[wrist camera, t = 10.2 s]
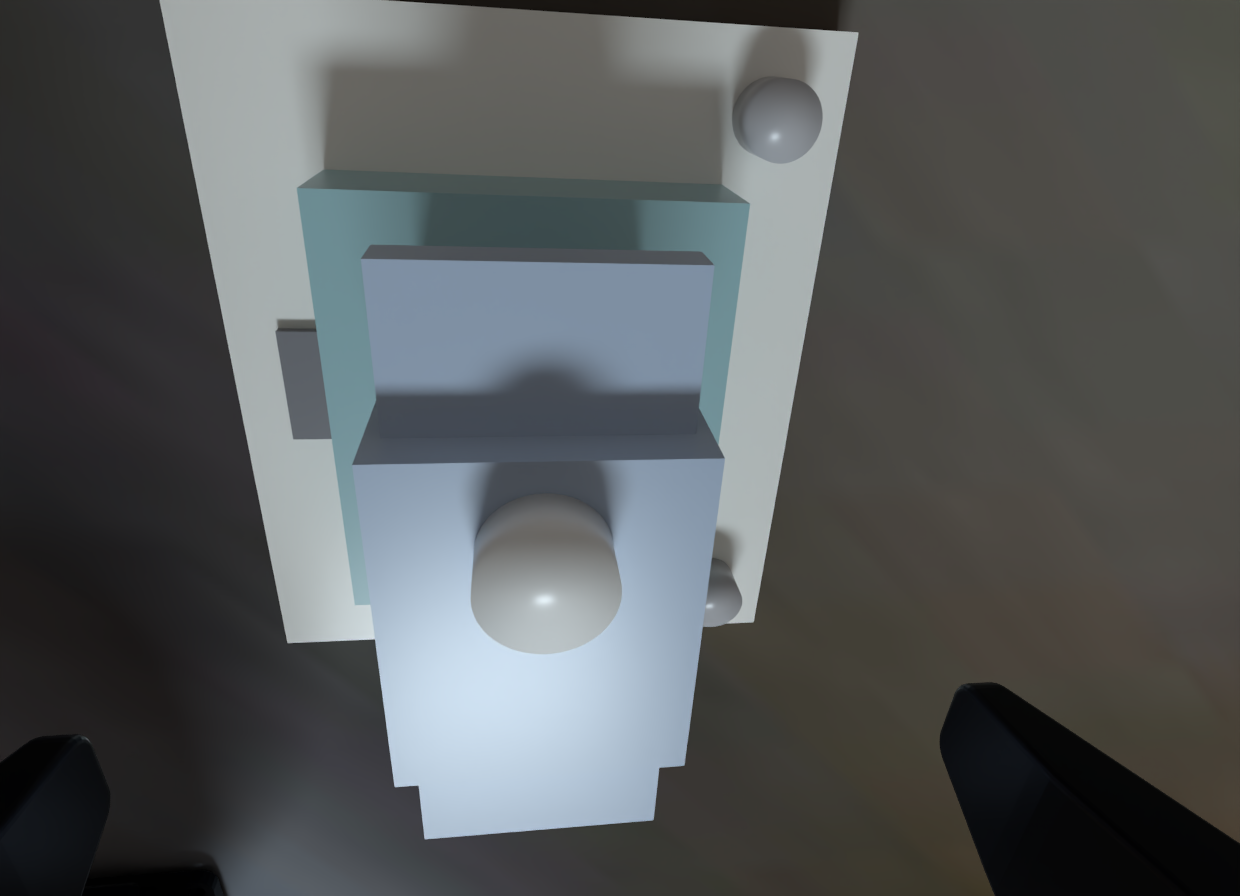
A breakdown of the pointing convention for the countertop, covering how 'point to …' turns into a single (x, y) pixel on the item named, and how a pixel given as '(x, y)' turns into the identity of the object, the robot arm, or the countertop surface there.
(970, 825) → the robot arm
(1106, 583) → the countertop surface
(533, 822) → the block
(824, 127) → the chassis plate
